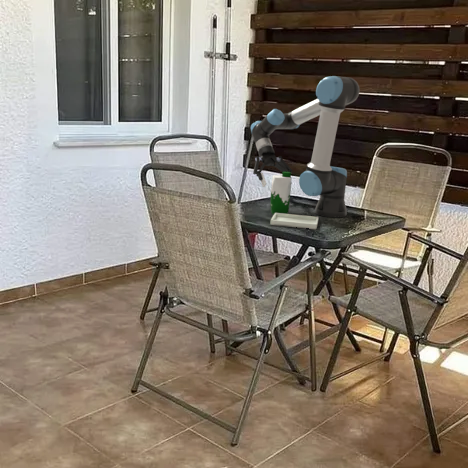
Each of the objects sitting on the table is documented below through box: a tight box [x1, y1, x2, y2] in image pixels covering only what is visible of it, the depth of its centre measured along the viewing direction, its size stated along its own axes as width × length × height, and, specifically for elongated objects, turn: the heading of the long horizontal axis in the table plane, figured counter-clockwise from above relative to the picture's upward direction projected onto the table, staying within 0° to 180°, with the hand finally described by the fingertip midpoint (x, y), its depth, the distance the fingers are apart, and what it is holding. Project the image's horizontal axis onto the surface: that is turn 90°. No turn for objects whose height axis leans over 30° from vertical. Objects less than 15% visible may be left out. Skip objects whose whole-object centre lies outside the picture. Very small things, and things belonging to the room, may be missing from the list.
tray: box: [269, 213, 319, 230], centre depth 272 cm, size 20×16×2 cm
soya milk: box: [269, 172, 293, 216], centre depth 288 cm, size 9×9×20 cm
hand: (277, 185), depth 289 cm, fingers open, 13 cm apart
